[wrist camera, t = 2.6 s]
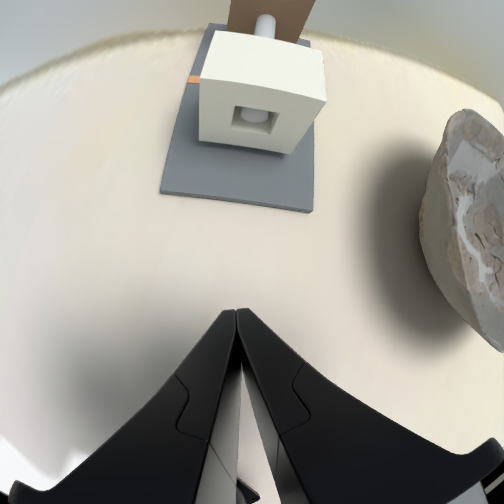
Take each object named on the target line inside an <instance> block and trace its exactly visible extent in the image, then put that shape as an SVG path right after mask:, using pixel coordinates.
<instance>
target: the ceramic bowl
mask: <svg viewBox="0 0 504 504" xmlns="http://www.w3.org/2000/svg"><path fill="white" fill-rule="evenodd" d="M419 227H420V228H419V240H420V243H421V246H422V250H423V253H424V256H425V260H426V263H427V266H428V270H429V272H430V273H431V275H432V277H433V279H434V281H435V283H436V285H437V286H438V288H439V289H440V291H441V292H442V294H443V295H444V297H445V298H446V300H447V301H448V302H449V304H450V305H451V306H452V307H453V308H454V309H455V310H456V312H457V313H458V314H459V315H460V316H461V317H462V318H463V319H464V320H465V321H466V322H467V323H468V324H469V325H470V326H471V327H472V328H473V329H474V330H475V331H476V332H477V333H478V334H479V335H481V336H482V337H483V338H484V339H485V340H486V341H487V342H488V343H489V344H490V345H491V346H492V347H494V348H495V349H496V350H497V351H499V352H501V353H504V136H503V135H502V134H501V133H500V132H499V131H498V130H497V129H496V128H495V127H494V126H493V125H492V124H491V123H490V122H489V121H487V120H486V119H485V118H483V117H482V116H481V115H479V114H478V113H477V112H475V111H474V110H472V109H463V110H462V111H458V112H456V113H455V114H453V115H452V116H451V117H450V118H449V120H448V122H447V124H446V127H445V130H444V133H443V138H442V142H441V144H440V146H439V148H438V150H437V153H436V155H435V157H434V160H433V163H432V166H431V168H430V172H429V175H428V178H427V182H426V192H425V194H424V196H423V198H422V205H421V209H420V212H419Z"/></svg>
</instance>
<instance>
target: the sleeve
mask: <svg viewBox="0 0 504 504" xmlns="http://www.w3.org/2000/svg"><path fill="white" fill-rule="evenodd" d="M326 102H327V101H326V88H325V76H324V66H323V56H322V51H319V50H316V49H312V48H309V47H305V46H301V45H297V44H293V43H289V42H285V41H281V40H276V39H271V38H266V37H261V36H255V35H249V34H242V33H235V32H227V31H217V30H215V33H214V36H213V39H212V41H211V44H210V47H209V50H208V53H207V56H206V59H205V63H204V66H203V69H202V72H201V76H200V87H199V141H207V142H216V143H223V144H231V145H238V146H245V147H251V148H257V149H263V150H269V151H275V152H280V153H285V154H290V155H291V153H292V152H293V150H294V149H295V147H296V146H297V144H298V143H299V141H300V140H301V139H302V137H303V136H304V134H305V133H306V131H307V130H308V128H309V127H310V125H311V124H312V122H313V121H314V119H315V118H316V116H317V115H318V113H319V112H320V110H321V109H322V108H323V106H324V105H325V103H326ZM242 107H248V108H254V109H260V110H265V111H268V118H267V120H265V121H264V122H260V123H252V122H248V121H246V120H244V119H243V118H242V117H241V110H242Z"/></svg>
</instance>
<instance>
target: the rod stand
mask: <svg viewBox="0 0 504 504" xmlns="http://www.w3.org/2000/svg"><path fill="white" fill-rule="evenodd" d="M314 2H315V0H231V5H230V12H229V17H228V24H227V25H224V24H214V23H209V25H208V28H207V30H206V33H205V35H204V38H203V40H202V43H201V45H200V48H199V51H198V54H197V56H196V59H195V62H194V65H193V68H192V71H191V74H190V76H189V79H188V82H187V86H186V89H185V92H184V96H183V99H182V102H181V106H180V109H179V113H178V116H177V120H176V123H175V127H174V131H173V135H172V139H171V143H170V147H169V151H168V155H167V159H166V164H165V168H164V173H163V178H162V182H161V187H160V191H161V194H171V195H180V196H190V197H198V198H207V199H215V200H223V201H231V202H239V203H246V204H253V205H260V206H267V207H274V208H281V209H287V210H293V211H299V212H306V213H310V212H312V211H313V196H314V121H313V122H312V124H311V125H310V127H309V128H308V130H307V131H306V133H305V134H304V136H303V137H302V139H301V140H300V141H299V143H298V144H297V146H296V147H295V149H294V150H293V152H292V153H291V155H290V154H285V153H280V152H275V151H269V150H263V149H257V148H251V147H245V146H238V145H231V144H223V143H216V142H207V141H199V87H200V76H201V72H202V69H203V66H204V63H205V59H206V56H207V53H208V50H209V47H210V44H211V41H212V39H213V36H214V33H215V30H217V31H227V32H235V33H242V34H249V35H255V36H261V37H266V38H271V39H276V40H281V41H285V42H289V43H293V44H297V45H301V46H305V47H309V48H310V41H308V40H304V39H300V38H299V36H300V34H301V31H302V29H303V27H304V25H305V22H306V20H307V18H308V16H309V13H310V11H311V9H312V7H313V5H314ZM241 117H242V118H243V119H244V120H246V121H248V122H252V123H260V122H264V121H265V120H267V118H268V111H265V110H260V109H254V108H248V107H242V110H241Z"/></svg>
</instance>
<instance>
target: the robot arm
mask: <svg viewBox="0 0 504 504" xmlns="http://www.w3.org/2000/svg"><path fill="white" fill-rule="evenodd" d="M241 363H242V365H241ZM242 370H243V374H244V378H245V382H246V386H247V389H248V393H249V397H250V400H251V404H252V408H253V411H254V415H255V418H256V422H257V425H258V429H259V432H260V435H261V439H262V442H263V446H264V449H265V452H266V455H267V459H268V462H269V465H270V468H271V472H272V475H273V478H274V481H275V484H276V487H277V491H278V494H279V497H280V501H281V504H504V450H503V448H502V447H501V445H500V444H499V443H498V442H497V440H496V439H495V438H489V439H488V440H487V441H485V442H484V443H483V444H481V445H480V446H479V447H477V448H476V449H475V450H473V451H472V452H470V453H468V454H463V455H460V454H454V453H451V452H449V451H447V450H445V449H443V448H441V447H440V446H438V445H436V444H434V443H432V442H430V441H428V440H426V439H425V438H423V437H421V436H419V435H417V434H415V433H414V432H412V431H410V430H408V429H407V428H405V427H403V426H401V425H400V424H398V423H396V422H394V421H393V420H391V419H389V418H388V417H386V416H384V415H383V414H381V413H379V412H378V411H376V410H374V409H373V408H371V407H369V406H368V405H366V404H364V403H363V402H361V401H360V400H358V399H356V398H355V397H353V396H352V395H350V394H349V393H347V392H346V391H344V390H342V389H341V388H340V387H338V386H337V385H335V384H334V383H332V382H331V381H330V380H328V379H327V378H326V377H324V376H323V375H322V374H321V373H319V372H318V371H317V370H316V369H315V368H313V367H312V366H311V365H310V364H309V363H308V362H306V361H305V360H304V359H303V358H302V357H301V356H300V355H298V354H297V353H296V352H295V351H294V350H293V349H292V348H291V347H290V346H289V345H287V344H286V343H285V342H284V341H283V340H282V339H281V338H280V337H279V336H278V335H277V334H276V333H274V332H273V331H272V330H271V329H270V328H269V327H268V326H267V325H266V324H265V323H264V322H263V321H262V320H261V319H260V318H258V317H257V316H256V315H255V314H254V313H253V312H252V311H251V310H250V309H249V308H241V309H237V310H236V311H235V310H234V309H231V310H223V311H222V312H221V313H220V315H219V316H218V317H217V318H216V320H215V321H214V322H213V324H212V325H211V326H210V327H209V329H208V330H207V331H206V332H205V334H204V335H203V336H202V338H201V339H200V340H199V341H198V343H197V344H196V345H195V346H194V348H193V349H192V350H191V352H190V353H189V354H188V355H187V357H186V358H185V359H184V360H183V362H182V363H181V364H180V365H179V367H178V368H177V369H176V370H175V372H174V373H173V374H172V375H171V376H170V377H169V379H168V380H167V381H166V382H165V384H164V385H163V386H162V387H161V388H160V389H159V390H158V392H157V393H156V394H155V395H154V396H153V397H152V398H151V399H150V400H149V401H148V402H147V403H146V404H145V405H144V406H143V407H142V408H141V409H140V410H139V411H138V412H137V413H136V414H135V415H134V416H133V417H132V418H131V419H130V420H128V421H127V422H126V423H125V424H124V425H123V426H122V427H121V428H120V429H119V430H118V431H117V432H116V433H114V434H113V435H112V436H111V437H110V438H109V439H108V440H107V441H106V442H105V443H104V444H102V445H101V446H100V447H99V448H98V449H97V450H96V451H95V452H94V453H92V454H91V455H90V456H89V457H88V458H87V459H86V460H85V461H83V462H82V463H81V464H80V465H79V466H78V467H77V468H75V469H74V470H73V471H72V472H71V473H70V474H69V475H67V476H66V477H65V478H64V479H63V480H62V481H60V482H59V483H58V484H57V485H56V486H54V487H53V488H51V489H50V490H46V491H39V490H36V489H34V488H32V487H30V486H28V485H26V484H24V483H22V482H20V481H18V480H16V481H15V482H14V483H13V485H12V488H11V490H10V493H9V495H8V494H6V493H4V492H2V491H0V504H252V503H254V502H256V501H258V500H259V499H260V496H259V494H258V493H256V492H255V491H254V490H253V489H251V488H250V487H249V486H247V485H246V484H245V483H244V482H243V481H241V480H240V479H239V478H238V477H237V459H238V439H239V419H240V399H241V380H242ZM253 497H255V498H253Z"/></svg>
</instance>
